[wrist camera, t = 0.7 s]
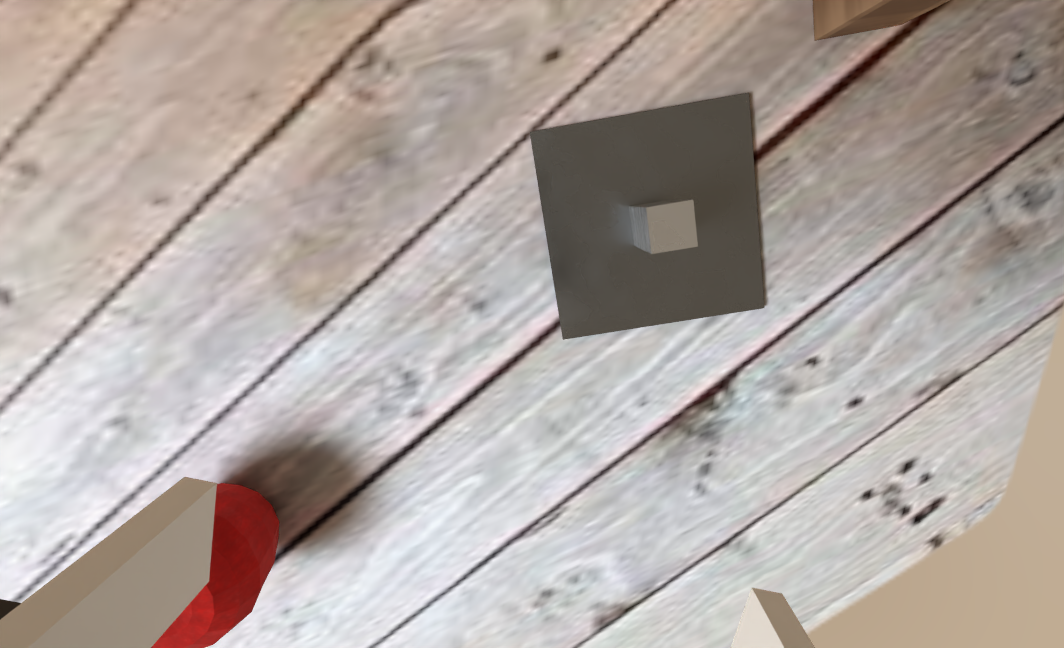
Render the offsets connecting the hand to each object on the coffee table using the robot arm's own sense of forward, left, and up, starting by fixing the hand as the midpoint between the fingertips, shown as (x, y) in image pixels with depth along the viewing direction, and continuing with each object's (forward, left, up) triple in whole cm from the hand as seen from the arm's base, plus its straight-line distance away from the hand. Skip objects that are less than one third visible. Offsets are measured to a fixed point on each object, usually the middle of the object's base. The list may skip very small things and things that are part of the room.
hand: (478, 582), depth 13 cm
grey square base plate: (-6, +10, -26) cm, 28 cm away
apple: (+11, -24, -26) cm, 37 cm away
